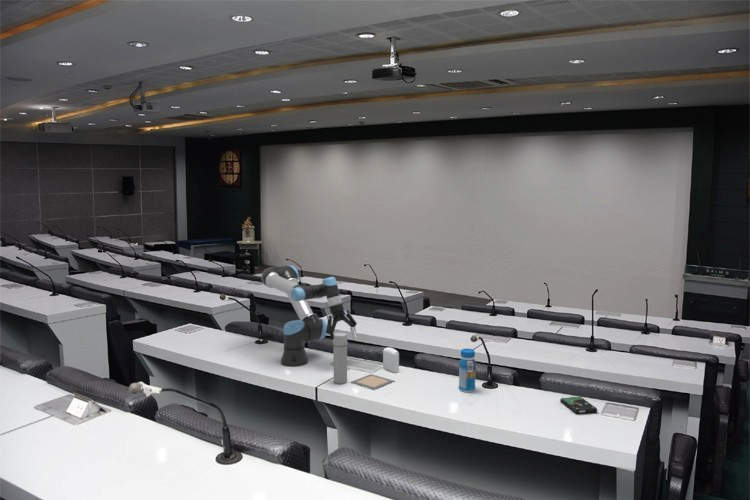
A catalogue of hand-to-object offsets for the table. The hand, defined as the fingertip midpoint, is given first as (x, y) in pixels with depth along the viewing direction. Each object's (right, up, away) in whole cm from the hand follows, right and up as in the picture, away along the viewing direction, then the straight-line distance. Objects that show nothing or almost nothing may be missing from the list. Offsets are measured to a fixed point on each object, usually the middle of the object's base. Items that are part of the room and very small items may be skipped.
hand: (345, 341), depth 303 cm
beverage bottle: (+62, -19, -31) cm, 72 cm away
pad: (+15, -17, -21) cm, 31 cm away
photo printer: (+25, -15, -2) cm, 29 cm away
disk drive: (+109, -22, -53) cm, 123 cm away
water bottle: (-1, -17, -20) cm, 26 cm away
